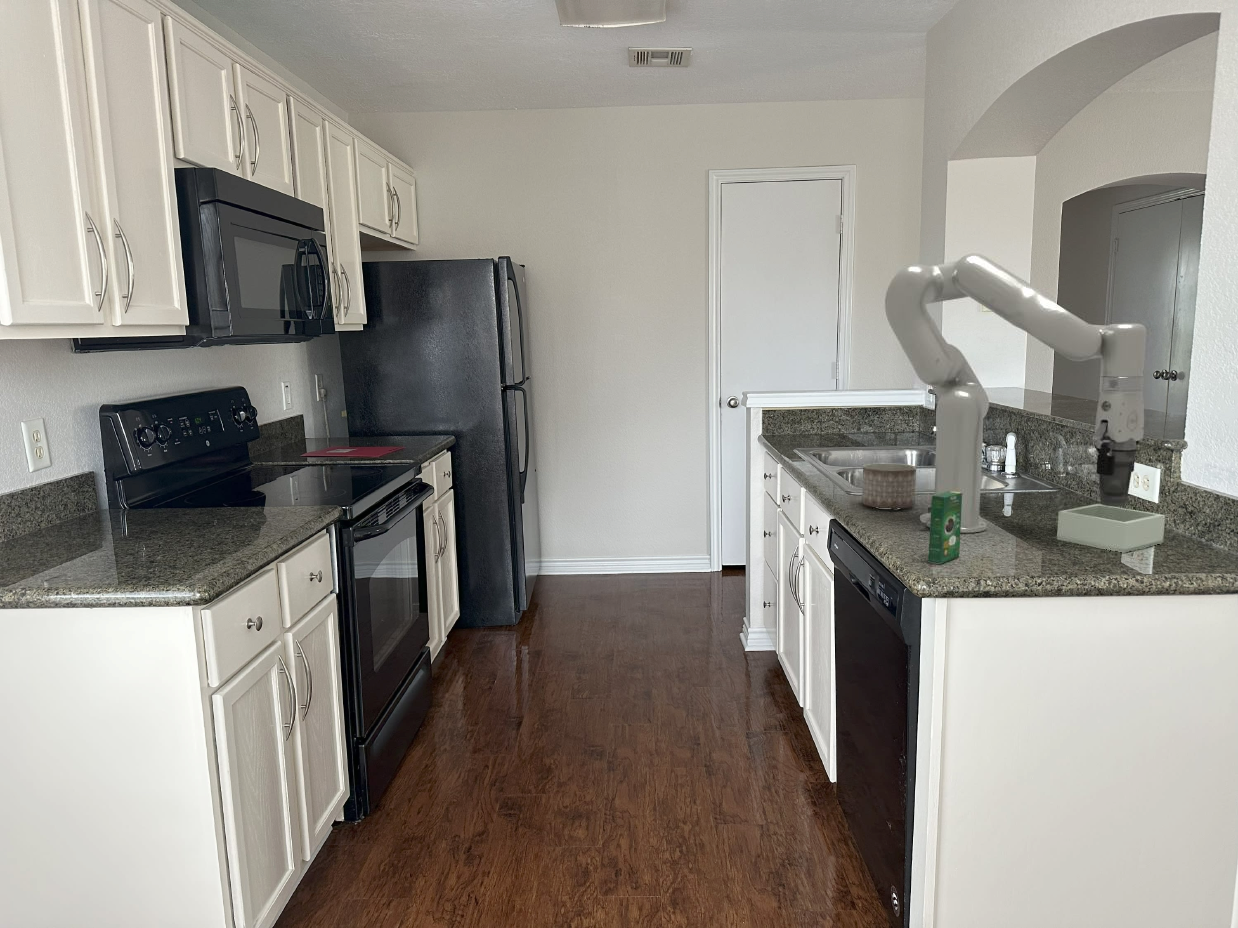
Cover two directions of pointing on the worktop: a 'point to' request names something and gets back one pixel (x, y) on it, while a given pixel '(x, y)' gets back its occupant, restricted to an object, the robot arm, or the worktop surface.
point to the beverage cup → (1118, 475)
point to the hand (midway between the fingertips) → (1115, 472)
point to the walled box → (1111, 527)
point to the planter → (889, 485)
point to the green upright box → (945, 527)
